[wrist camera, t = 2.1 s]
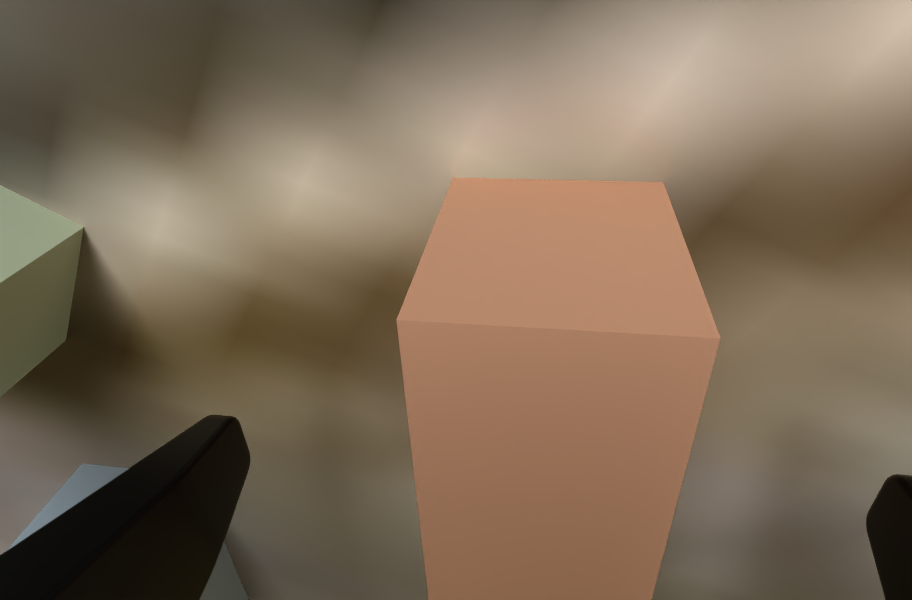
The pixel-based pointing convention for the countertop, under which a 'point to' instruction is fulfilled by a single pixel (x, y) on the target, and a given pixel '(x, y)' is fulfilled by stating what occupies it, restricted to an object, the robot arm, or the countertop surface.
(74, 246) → the sage block
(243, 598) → the slate-blue block
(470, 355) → the terracotta block
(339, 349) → the countertop surface
